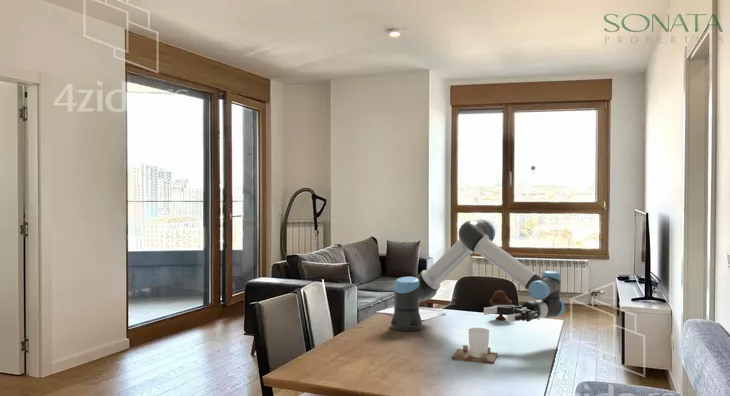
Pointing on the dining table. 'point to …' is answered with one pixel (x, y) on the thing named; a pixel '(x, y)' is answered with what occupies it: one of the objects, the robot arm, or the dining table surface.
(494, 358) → the holder
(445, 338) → the dining table surface
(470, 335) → the white cup
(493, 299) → the ice cream bowl
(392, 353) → the dining table surface
